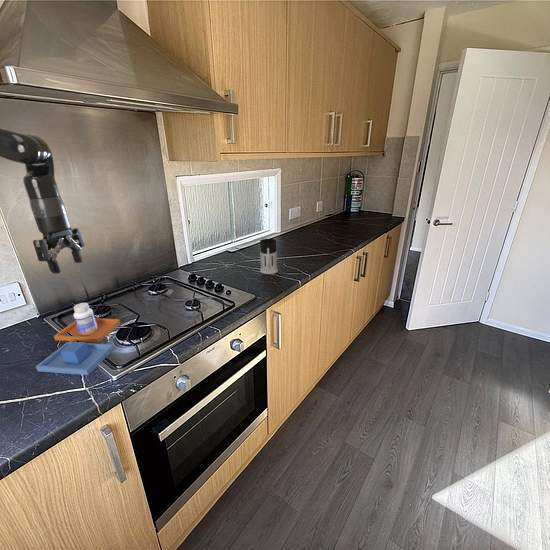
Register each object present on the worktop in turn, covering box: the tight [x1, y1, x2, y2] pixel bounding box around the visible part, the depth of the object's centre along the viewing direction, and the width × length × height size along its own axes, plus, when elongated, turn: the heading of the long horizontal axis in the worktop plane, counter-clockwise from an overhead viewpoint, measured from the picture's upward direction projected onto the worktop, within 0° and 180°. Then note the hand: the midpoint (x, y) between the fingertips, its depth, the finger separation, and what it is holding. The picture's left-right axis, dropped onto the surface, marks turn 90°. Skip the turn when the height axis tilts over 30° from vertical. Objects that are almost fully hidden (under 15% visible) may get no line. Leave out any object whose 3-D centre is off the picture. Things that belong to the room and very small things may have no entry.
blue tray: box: [35, 341, 115, 376], centre depth 83 cm, size 15×11×2 cm
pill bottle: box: [72, 302, 98, 335], centre depth 95 cm, size 5×5×10 cm
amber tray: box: [53, 317, 121, 344], centre depth 97 cm, size 15×11×2 cm
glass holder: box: [259, 238, 279, 275], centre depth 137 cm, size 9×14×15 cm, turn 1°
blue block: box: [60, 341, 90, 365], centre depth 83 cm, size 4×4×4 cm
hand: (68, 267), depth 88 cm, fingers open, 8 cm apart
